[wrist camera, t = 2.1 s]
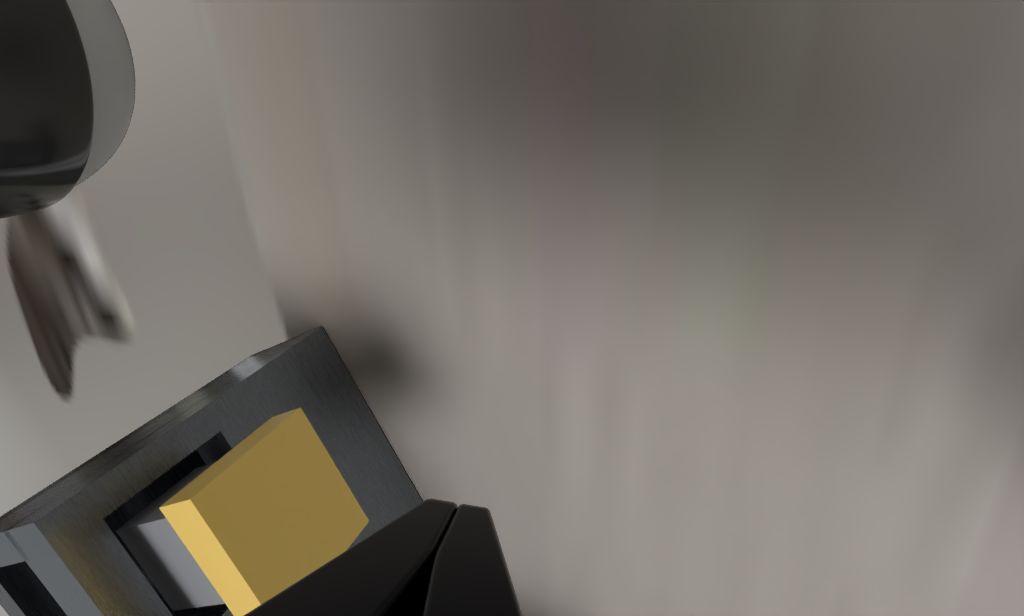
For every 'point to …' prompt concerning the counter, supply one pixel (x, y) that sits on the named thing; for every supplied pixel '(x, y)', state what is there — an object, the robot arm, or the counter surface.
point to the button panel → (169, 458)
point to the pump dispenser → (59, 97)
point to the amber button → (247, 521)
